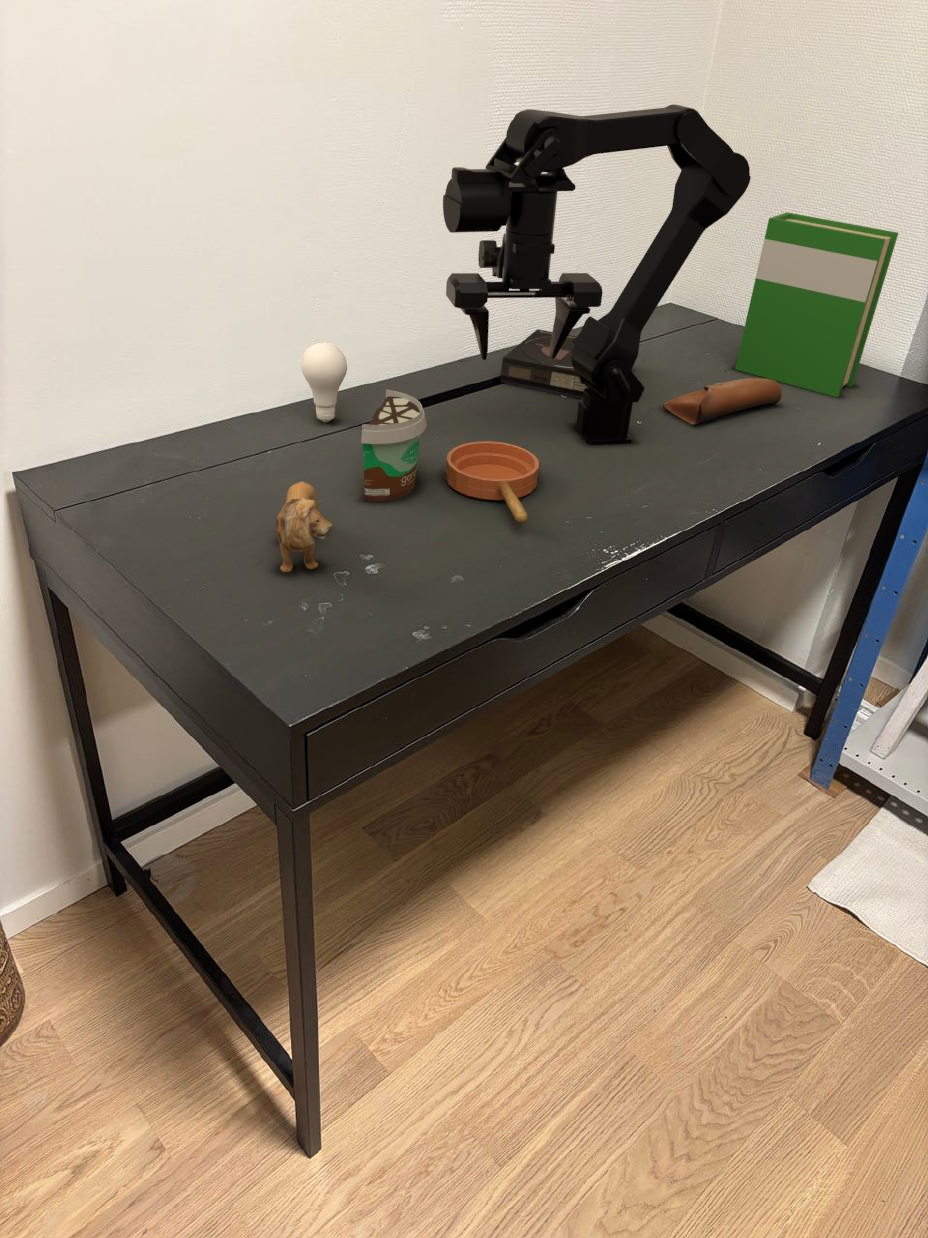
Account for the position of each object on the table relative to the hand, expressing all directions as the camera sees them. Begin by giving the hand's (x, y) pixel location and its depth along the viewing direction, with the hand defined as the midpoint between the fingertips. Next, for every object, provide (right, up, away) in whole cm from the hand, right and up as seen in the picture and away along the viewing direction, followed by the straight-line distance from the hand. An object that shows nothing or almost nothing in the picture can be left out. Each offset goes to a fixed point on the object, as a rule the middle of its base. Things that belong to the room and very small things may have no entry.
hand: (518, 358), depth 122 cm
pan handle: (-1, -21, -12) cm, 24 cm away
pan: (-4, -16, -3) cm, 17 cm away
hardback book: (+48, +7, +36) cm, 60 cm away
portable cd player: (+9, +5, +30) cm, 32 cm away
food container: (-15, -18, -6) cm, 24 cm away
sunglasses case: (+32, -2, +23) cm, 39 cm away
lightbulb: (-26, -6, +10) cm, 29 cm away
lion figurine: (-24, -27, -20) cm, 41 cm away
